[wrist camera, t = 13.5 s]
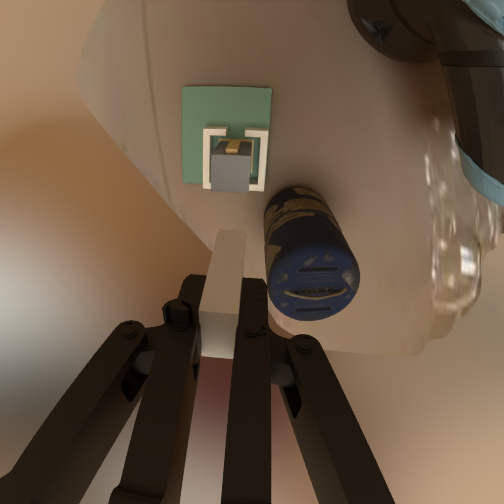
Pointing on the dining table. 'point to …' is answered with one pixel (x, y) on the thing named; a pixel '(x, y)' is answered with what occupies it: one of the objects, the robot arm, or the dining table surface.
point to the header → (249, 132)
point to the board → (221, 121)
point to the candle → (307, 257)
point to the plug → (231, 166)
